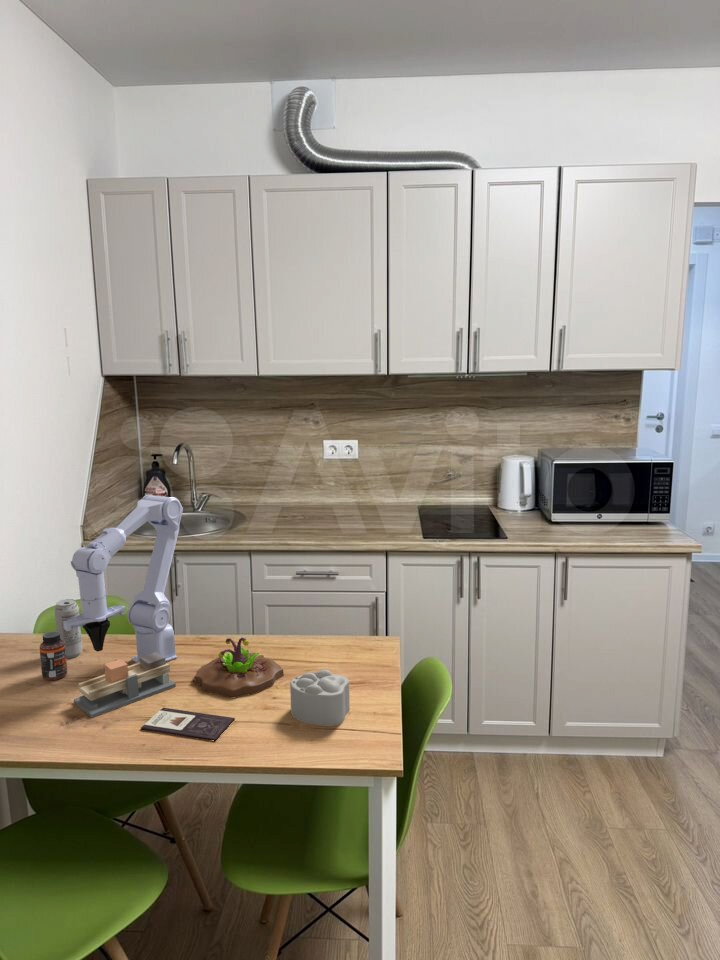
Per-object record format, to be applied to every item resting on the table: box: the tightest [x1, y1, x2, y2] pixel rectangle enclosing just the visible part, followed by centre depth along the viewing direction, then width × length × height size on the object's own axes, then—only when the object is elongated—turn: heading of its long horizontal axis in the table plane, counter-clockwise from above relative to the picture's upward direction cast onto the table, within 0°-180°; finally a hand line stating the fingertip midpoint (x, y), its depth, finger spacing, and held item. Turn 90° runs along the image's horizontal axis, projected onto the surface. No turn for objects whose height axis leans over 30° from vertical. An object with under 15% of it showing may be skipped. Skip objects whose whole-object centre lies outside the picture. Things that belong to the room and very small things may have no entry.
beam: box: [77, 652, 171, 701], centre depth 170 cm, size 20×6×5 cm, turn 135°
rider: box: [103, 658, 129, 684], centre depth 168 cm, size 4×4×4 cm
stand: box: [73, 672, 177, 719], centre depth 170 cm, size 21×10×6 cm, turn 133°
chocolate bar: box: [140, 707, 236, 742], centre depth 156 cm, size 9×1×18 cm
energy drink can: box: [54, 598, 83, 660], centre depth 191 cm, size 6×6×15 cm
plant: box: [194, 637, 284, 698], centre depth 177 cm, size 20×20×11 cm
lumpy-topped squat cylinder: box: [289, 669, 351, 727], centre depth 160 cm, size 10×13×9 cm
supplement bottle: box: [39, 631, 68, 681], centre depth 179 cm, size 6×6×11 cm
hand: (98, 649), depth 172 cm, fingers closed
